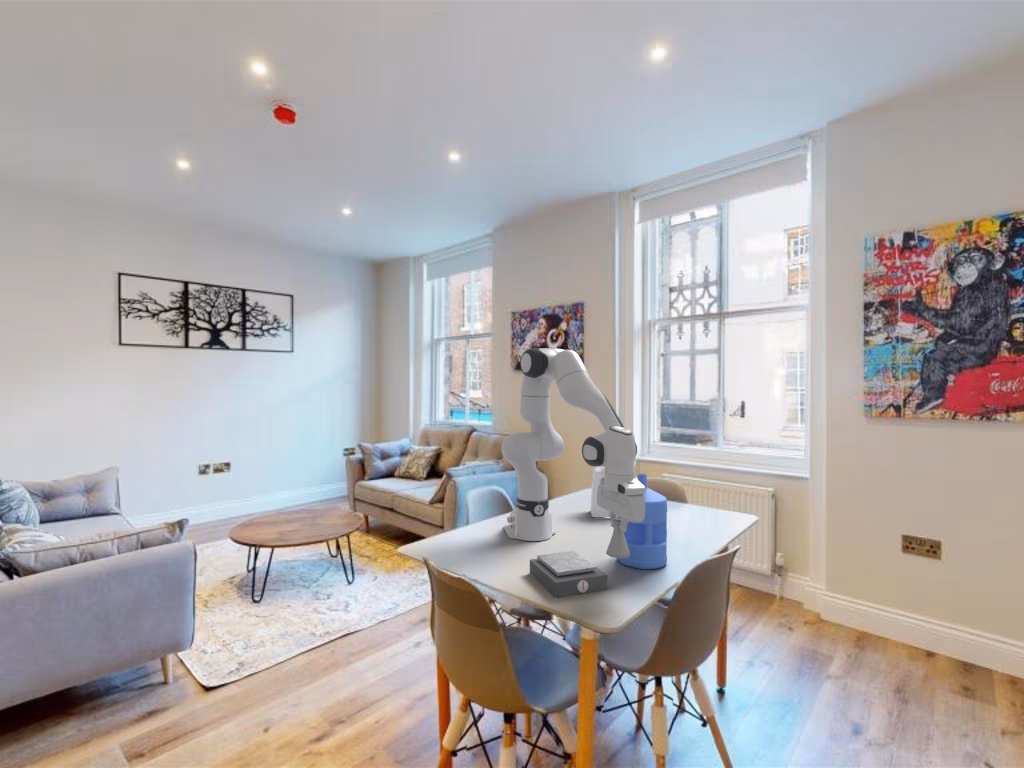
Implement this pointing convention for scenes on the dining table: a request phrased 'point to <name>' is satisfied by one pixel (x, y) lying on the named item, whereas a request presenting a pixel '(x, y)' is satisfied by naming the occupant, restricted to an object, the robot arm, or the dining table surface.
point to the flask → (618, 543)
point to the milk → (595, 509)
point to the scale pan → (566, 563)
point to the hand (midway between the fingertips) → (618, 529)
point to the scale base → (568, 580)
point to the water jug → (648, 533)
